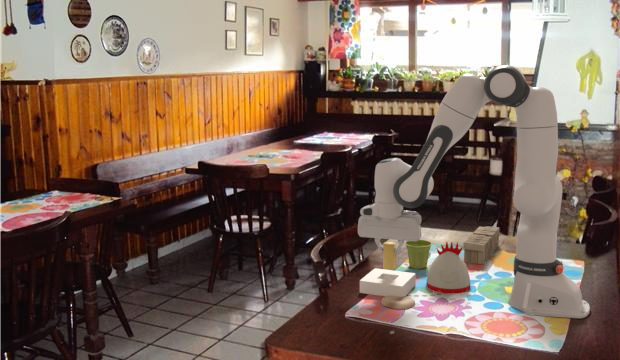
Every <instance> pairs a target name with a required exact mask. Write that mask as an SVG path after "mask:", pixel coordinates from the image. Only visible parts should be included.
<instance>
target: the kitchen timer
mask: <svg viewBox="0 0 620 360" xmlns="http://www.w3.org/2000/svg"><path fill="white" fill-rule="evenodd" d="M440 247H441V251H440V249H439V248H438V247H436V251H437V254H438V255H437V256H436V257H435V258H434V259H433V261H432V262H431V265H430V266H429V269H428V272H427V276H426V287H427V289H428V290H430V291H432V292H435V293H441V294H447V295H449V294H450V295H452V294H453V295H454V294H455V295H456V294H463V293H466V292H469V291H470V290H471V278H470V273H469V271H468V267H469V266H468V264H466V262H464V258H462V257H461V256H460V254H461V253H462V250H463V245H462V246H461V247H460V248H459V242H457V243H456V245H455V248H454V245H453V242H452V241H451V242H450V246H449V244H448V241H446V242H445V247H444V245H443V244H441V245H440Z"/></svg>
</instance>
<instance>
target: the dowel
mask: <svg viewBox="0 0 620 360" xmlns="http://www.w3.org/2000/svg"><path fill="white" fill-rule="evenodd" d="M382 245H383V252H382V260H383V261H382V262H383V263H382V264H383V265H382V267H383V268H382V269H385V270H393V271H395V270H397V253H395V248H396V247H397V243H396V242H392V241H386V242H383V243H382Z"/></svg>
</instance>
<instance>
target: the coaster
mask: <svg viewBox="0 0 620 360" xmlns="http://www.w3.org/2000/svg"><path fill="white" fill-rule="evenodd" d="M381 305H382V306H383V305H384V306H383V307H385V308H389V309H393V310H406V309H411V308H413V307H415V305H416V301H415V299H414V298H412V297H409V296H407V295H406V296H403V297H399V296H388V297H386V296H384V297H383V298H382V299H381Z"/></svg>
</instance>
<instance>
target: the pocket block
mask: <svg viewBox="0 0 620 360" xmlns="http://www.w3.org/2000/svg"><path fill="white" fill-rule="evenodd" d="M416 274H417V273H415V272H408V271H407V272H406V271H401V270H400V271H399V270H386V269H384V268H377V267H375V268H373V269H372V270H371V271H370V272H368V273H367V274H365V276H363V277H362V278H361V279H359V293H360V294H365V295H366V294H367V295H373V296H380V297H388V296H399V297H403V296H406V297H407V295H408V294H409V293H410V291H411V290H413V289H414V287H415V286H416V280H417V278H416V276H417V275H416Z"/></svg>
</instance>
